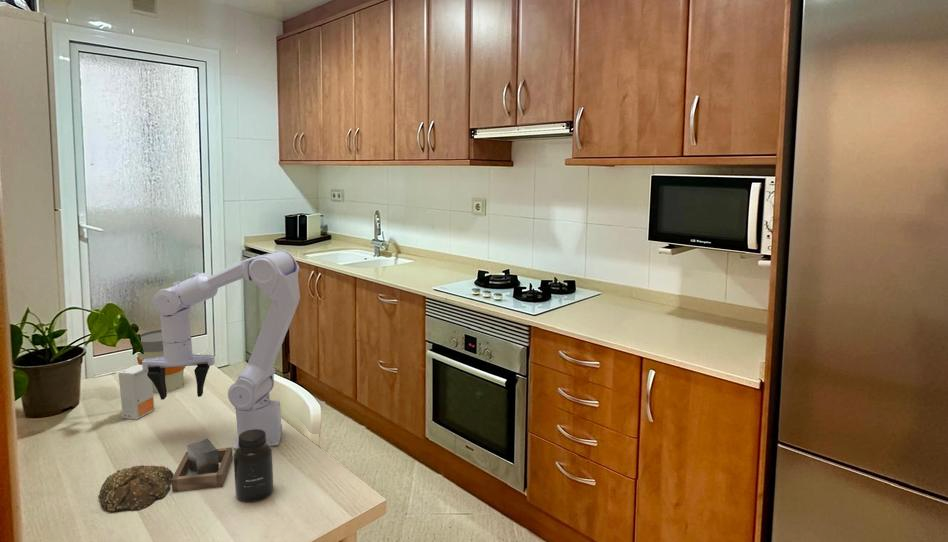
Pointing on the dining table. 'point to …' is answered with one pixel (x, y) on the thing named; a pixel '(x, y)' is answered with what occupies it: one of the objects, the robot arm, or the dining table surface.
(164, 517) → the dining table surface
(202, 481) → the wooden frame
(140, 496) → the bread roll
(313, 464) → the dining table surface
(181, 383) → the reusable coffee cup
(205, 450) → the steel bracket block
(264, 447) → the supplement bottle
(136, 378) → the skincare box
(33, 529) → the dining table surface
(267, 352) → the robot arm
